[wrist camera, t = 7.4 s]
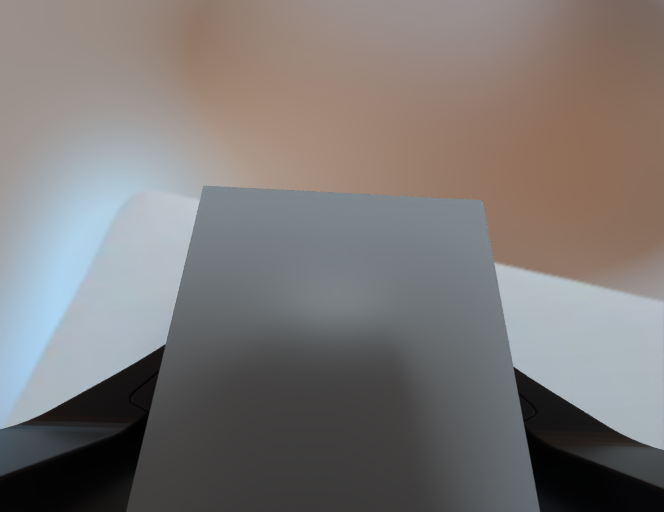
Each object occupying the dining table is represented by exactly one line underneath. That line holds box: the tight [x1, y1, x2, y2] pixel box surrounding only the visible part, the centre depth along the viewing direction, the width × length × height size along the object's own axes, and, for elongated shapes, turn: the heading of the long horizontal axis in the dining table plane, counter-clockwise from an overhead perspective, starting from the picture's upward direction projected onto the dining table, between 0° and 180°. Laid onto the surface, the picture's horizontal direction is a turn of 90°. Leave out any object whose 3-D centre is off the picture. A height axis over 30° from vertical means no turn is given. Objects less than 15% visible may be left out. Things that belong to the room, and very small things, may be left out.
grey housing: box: [126, 186, 540, 512], centre depth 9 cm, size 5×5×12 cm
